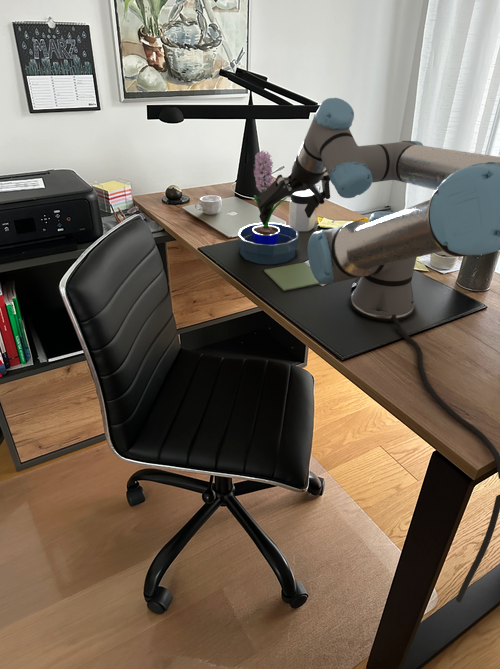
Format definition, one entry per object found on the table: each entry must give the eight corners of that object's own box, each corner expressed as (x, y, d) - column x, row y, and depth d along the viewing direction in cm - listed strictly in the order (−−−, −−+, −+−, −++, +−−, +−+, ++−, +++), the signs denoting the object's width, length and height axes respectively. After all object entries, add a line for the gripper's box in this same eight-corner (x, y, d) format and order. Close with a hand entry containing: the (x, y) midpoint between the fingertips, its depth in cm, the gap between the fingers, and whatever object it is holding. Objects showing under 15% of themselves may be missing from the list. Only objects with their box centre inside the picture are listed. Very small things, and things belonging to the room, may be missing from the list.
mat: (326, 282, 129) (327, 281, 129) (284, 291, 125) (284, 289, 125) (304, 263, 139) (304, 262, 139) (264, 271, 135) (264, 269, 135)
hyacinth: (282, 259, 142) (286, 155, 125) (248, 256, 143) (248, 153, 127) (286, 248, 149) (291, 148, 132) (254, 245, 151) (255, 146, 134)
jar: (284, 225, 166) (285, 190, 159) (303, 221, 169) (306, 187, 162) (298, 233, 159) (300, 198, 152) (318, 229, 162) (321, 194, 156)
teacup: (218, 208, 180) (217, 194, 177) (224, 214, 174) (224, 200, 172) (192, 211, 177) (191, 197, 174) (198, 218, 171) (197, 203, 168)
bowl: (307, 259, 142) (309, 239, 139) (252, 269, 136) (252, 249, 133) (281, 237, 156) (282, 219, 153) (230, 246, 150) (229, 227, 147)
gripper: (352, 144, 114) (320, 200, 133) (257, 153, 106) (238, 211, 125) (364, 169, 112) (330, 222, 131) (268, 180, 104) (246, 235, 123)
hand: (285, 217), depth 128 cm, fingers open, 13 cm apart
